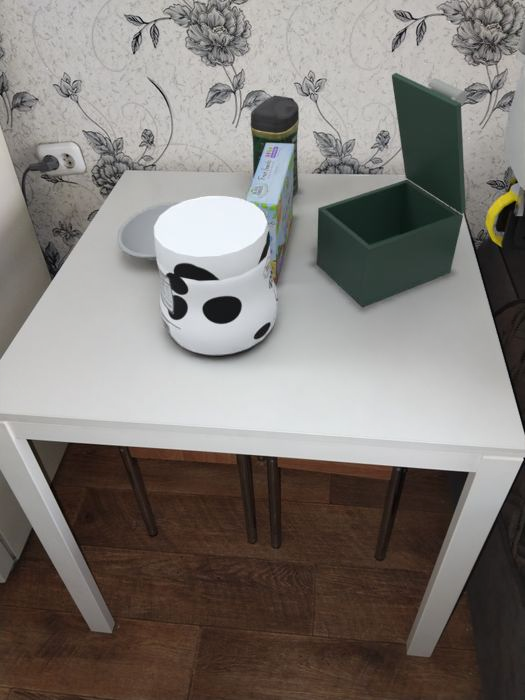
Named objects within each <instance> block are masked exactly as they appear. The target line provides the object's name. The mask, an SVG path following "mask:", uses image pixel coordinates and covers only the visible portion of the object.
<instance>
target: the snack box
mask: <svg viewBox="0 0 525 700" xmlns="http://www.w3.org/2000/svg"><path fill="white" fill-rule="evenodd" d="M294 145H295V144H287V143H266V145H265V148H264V150H263V153H262V156H261V159H260V162H259V165H258V167H257V170H256V173H255V176H254V179H253V178H252V181H251V184H250V187H249V190H248V193H247V196H246V199H245V201H248V202H250V203H253V204H255V205H256V206H257V207H258V208H259V209H261V210H262V211H263V212H264V215H265V217H266V220H267V223H268V227H269V233H270V271H271V275H272V278H273V281H274V283H275V286H276V285H277V284H278V280H279V278H280V277H279V276H280V272H281V268H282V264H283V259H284V255H285V252H286V248H287V244H288V240H289V236H290V232H291V228H292V224H293V220H294V196H293V173H294Z"/></svg>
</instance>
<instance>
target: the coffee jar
mask: <svg viewBox="0 0 525 700" xmlns="http://www.w3.org/2000/svg"><path fill="white" fill-rule="evenodd" d="M299 110H300V108H299V105H298V103H297V101H295V100H294V98H293V97H288V96H281V95H273V96H271V97H269V98H266V99H265V100H263V101H262V102H261V103H259V104H258V105H256V107H255V108H254V109H253V110H252V111H251V112H250V131H251V136H252V166H253V167H252V168H253V169H252V170H253V171H252V180H253V179H254V176H255V173H256V170H257V167H258V165H259V162H260V159H261V156H262V153H263V150H264V148H265V145H266V143H287V144H295V145H294V173H293V197H295V195H296V193H297V192H298V189H299V172H298V170H299V169H298V133H299V122H300V113H299Z"/></svg>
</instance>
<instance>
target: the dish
mask: <svg viewBox="0 0 525 700" xmlns="http://www.w3.org/2000/svg"><path fill="white" fill-rule="evenodd" d="M181 202H182V201H171V202H162V203H157V204H154V205H151V206H149V207H146V208H143V209H142V210H139V211H138V212H135V213H134V214H132V215H131V216H130V217H129V218H128V219H126V221H125V222H123V223H122V225H121V226H120V228H119V229H118V232H117V236H116V242H117V245H118V247H119V248H120V249H121V251H122V252H124V253H125V254H128V255H130V256H131V257H136V258H139V259H141V260H146V261H157V260H156V251H155V241H154V225H155V224H156V222H157V220H158V218H159V216H160V215H161V214H163V213H164V212H165V211H167V210H168V209H169V208H170V207H172V206H174V205H177V204H179V203H181Z"/></svg>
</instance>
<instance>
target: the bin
mask: <svg viewBox="0 0 525 700" xmlns="http://www.w3.org/2000/svg"><path fill="white" fill-rule="evenodd" d="M317 213H318V214H317V238H316V239H317V240H316V265H317V266H318V267H319V268H320V269H321V270H322V271H323V272H325V274H327V276H329V278H330V279H332V280H333V281H334V282H335V283H336V284H337V285H338V286H339V287H340V288H341V289H343V291H344V292H346V293H347V294H348V295H349V296H350V297H351V298H352V299H353V300H354V301H355V302H356V303H357V304H358V305H360V307H362V308H365V307H368V306H371V305H372V304H375V303H378V302H380V301H383V300H385V299H387V298H390V297H393V296H395V295H398V294H400V293H403V292H405V291H407V290H410V289H413V288H415V287H418V286H421V285H422V284H423V285H424V284H425V283H428V282H430V281H434V280H435V279H438V278H441V277H443V276H446V275H448V274H450V273H451V272H452V266H453V262H454V257H455V254H456V249H457V244H458V240H459V235H460V231H461V226H462V223H463V217H464V215H463V214H461V213H459V212H458V211H456V210H455V209H453V208H452V207H450V206H448V205H447V204H445V203H444V202H442V201H441V200H439V199H438V198H436V197H434V196H433V195H431V194H430V193H428V192H427V191H425V190H424V189H422V188H421V187H419V186H417V185H416V184H414V183H413V182H411V181H410V180H408V179H404V180H401V181H398V182H394V183H392V184H389V185H386V186H383V187H379V188H376V189H373V190H370V191H367V192H363V193H361V194H358V195H355V196H351V197H348V198H345V199H342V200H339V201H335V202H333V203H330V204H327V205H324V206H320V207H318V209H317Z"/></svg>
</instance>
